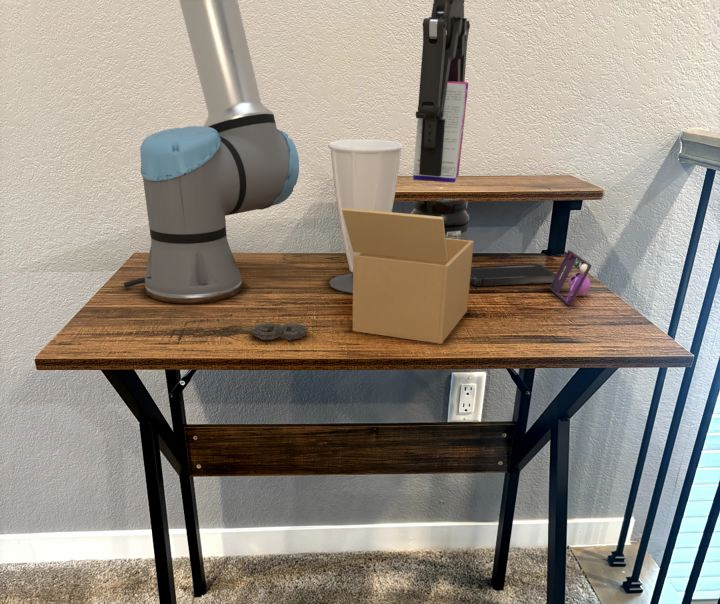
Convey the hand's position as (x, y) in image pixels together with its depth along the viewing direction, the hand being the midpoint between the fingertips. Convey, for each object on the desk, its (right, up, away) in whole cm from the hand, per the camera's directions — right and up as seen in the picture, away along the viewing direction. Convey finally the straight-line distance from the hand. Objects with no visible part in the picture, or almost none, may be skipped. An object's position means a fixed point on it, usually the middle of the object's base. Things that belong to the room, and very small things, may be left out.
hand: (437, 170), depth 97 cm
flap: (-6, -10, -5) cm, 13 cm away
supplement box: (0, -1, +1) cm, 1 cm away
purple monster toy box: (+24, -12, +21) cm, 34 cm away
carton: (-3, -18, +10) cm, 21 cm away
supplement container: (+4, -2, +37) cm, 37 cm away
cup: (-10, -8, +26) cm, 29 cm away
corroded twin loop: (-21, -21, +4) cm, 31 cm away
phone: (+15, -6, +30) cm, 34 cm away
